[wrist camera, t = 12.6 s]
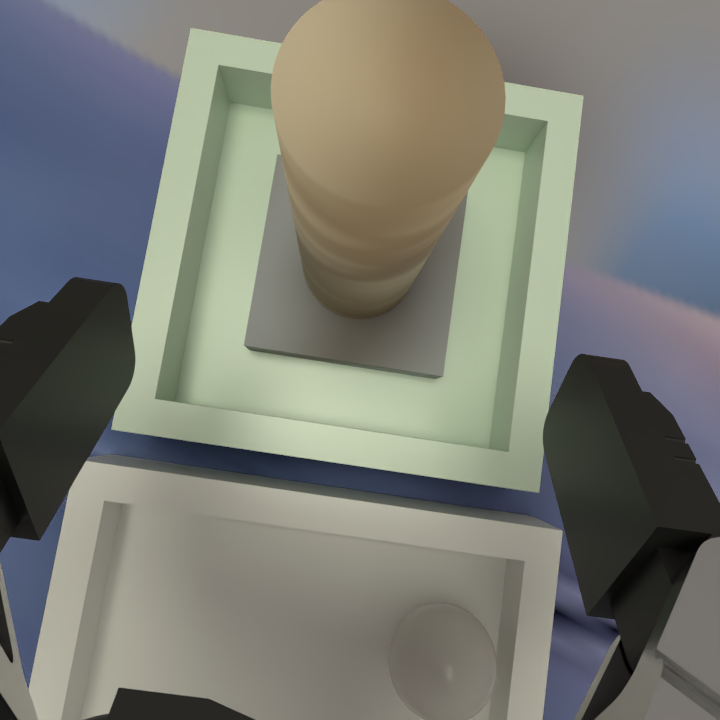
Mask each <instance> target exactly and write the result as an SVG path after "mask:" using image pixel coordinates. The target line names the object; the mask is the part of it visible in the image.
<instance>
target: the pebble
mask: <svg viewBox="0 0 720 720" xmlns="http://www.w3.org/2000/svg"><path fill="white" fill-rule="evenodd" d="M388 659H389V671H390V676H391V680H392V683H393V685H394V688H395V690H396V692H397V694H398V696H399V697H400V699H401V700H402V701H403V703H404V704H405V705H406V706H407V707H408V708H409V709H410V710H411V711H412V712H413V713H414V714H416V715H417V716H419V717H420V718H422V719H424V720H469V719H471V718H473V717H474V716H475V715H477V714H478V713H479V712H480V711H481V710H482V709H483V708H484V707H485V705H486V704H487V702H488V701H489V699H490V697H491V695H492V693H493V691H494V688H495V685H496V679H497V668H498V666H497V657H496V652H495V648H494V645H493V642H492V640H491V638H490V636H489V634H488V632H487V630H486V629H485V627H484V626H483V625H482V624H481V622H480V621H479V620H478V619H477V618H476V617H475V616H473V615H472V614H471V613H470V612H468V611H467V610H465V609H463V608H461V607H459V606H456V605H453V604H449V603H430V604H426V605H423V606H420V607H418V608H416V609H415V610H413V611H412V612H410V613H409V614H408V615H407V616H406V617H405V618H404V619H403V620H402V621H401V622H400V624H399V625H398V627H397V628H396V630H395V632H394V634H393V637H392V640H391V644H390V648H389V658H388Z"/></svg>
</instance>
